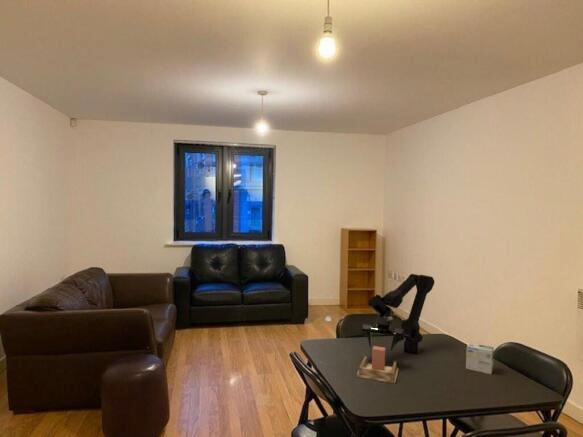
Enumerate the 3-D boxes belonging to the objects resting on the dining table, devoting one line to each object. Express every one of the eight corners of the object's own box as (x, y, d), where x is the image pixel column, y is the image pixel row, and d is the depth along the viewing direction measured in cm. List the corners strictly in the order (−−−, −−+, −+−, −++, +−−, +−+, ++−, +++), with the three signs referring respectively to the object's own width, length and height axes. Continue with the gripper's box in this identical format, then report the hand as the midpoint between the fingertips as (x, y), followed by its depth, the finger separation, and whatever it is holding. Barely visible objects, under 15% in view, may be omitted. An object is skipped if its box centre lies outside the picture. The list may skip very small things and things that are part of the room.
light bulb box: (493, 369, 182) (494, 346, 181) (491, 375, 176) (492, 350, 175) (467, 364, 187) (468, 341, 187) (465, 368, 182) (466, 345, 181)
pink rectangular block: (384, 370, 174) (385, 347, 174) (383, 373, 170) (384, 350, 170) (372, 368, 176) (373, 345, 176) (371, 371, 172) (372, 348, 172)
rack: (398, 370, 177) (398, 361, 177) (395, 383, 164) (395, 373, 164) (362, 364, 183) (362, 355, 182) (356, 376, 169) (356, 367, 169)
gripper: (362, 306, 185) (357, 337, 175) (404, 311, 179) (402, 344, 169) (365, 319, 193) (360, 349, 183) (405, 324, 186) (402, 355, 177)
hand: (380, 349), depth 178 cm, fingers open, 9 cm apart
